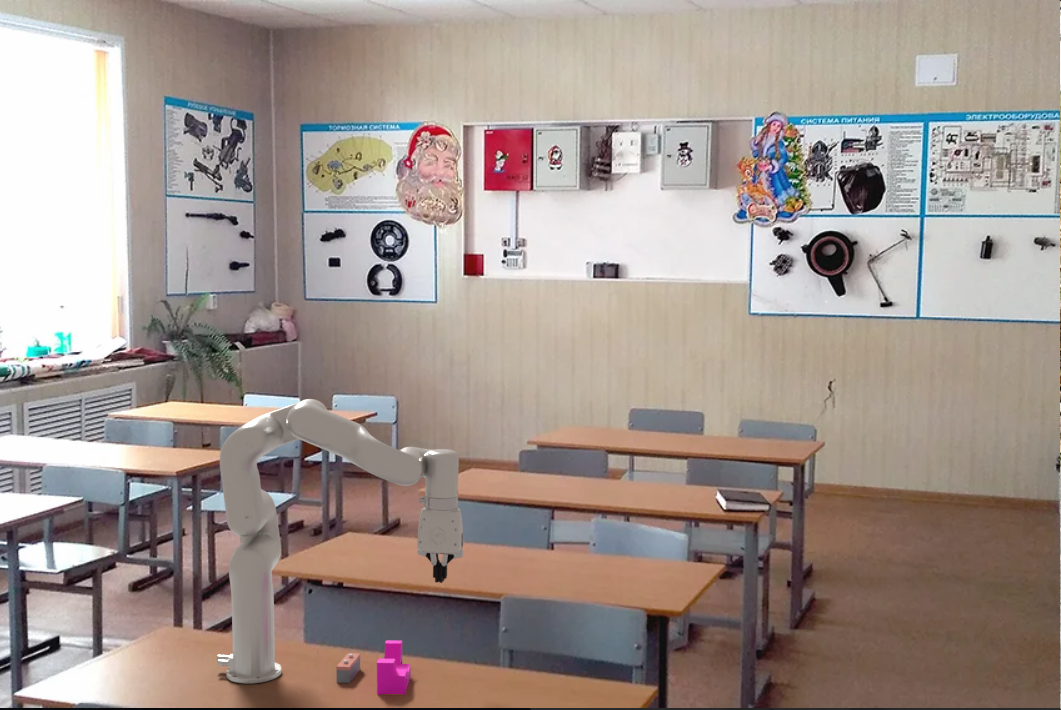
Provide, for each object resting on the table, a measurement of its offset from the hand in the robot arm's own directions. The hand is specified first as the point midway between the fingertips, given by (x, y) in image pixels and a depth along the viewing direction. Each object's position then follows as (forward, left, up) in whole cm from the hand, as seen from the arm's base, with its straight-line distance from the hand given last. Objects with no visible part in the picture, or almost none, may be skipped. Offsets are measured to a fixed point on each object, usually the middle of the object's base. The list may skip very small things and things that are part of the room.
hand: (439, 580), depth 269 cm
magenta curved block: (-9, -6, -23) cm, 25 cm away
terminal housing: (-21, -4, -23) cm, 31 cm away
